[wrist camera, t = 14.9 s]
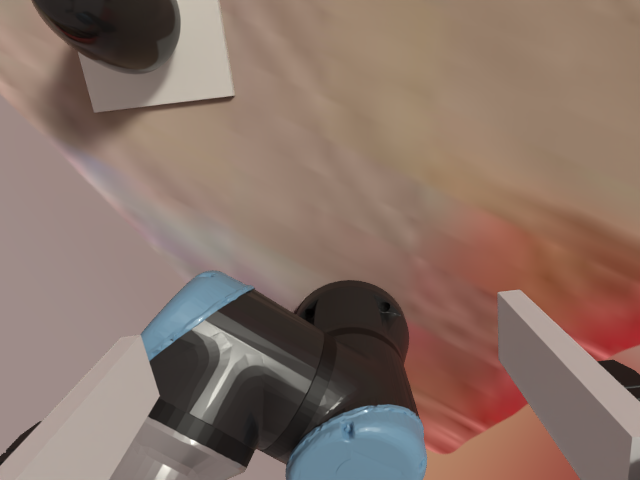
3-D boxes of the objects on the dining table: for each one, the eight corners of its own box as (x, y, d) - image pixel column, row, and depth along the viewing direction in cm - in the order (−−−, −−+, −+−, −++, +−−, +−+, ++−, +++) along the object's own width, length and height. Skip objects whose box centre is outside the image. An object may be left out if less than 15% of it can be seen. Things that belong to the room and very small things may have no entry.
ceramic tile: (235, 95, 45) (233, 95, 44) (97, 112, 46) (94, 112, 45) (207, -74, 40) (204, -78, 39) (54, -51, 41) (49, -54, 40)
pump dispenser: (128, -57, 40) (12, -152, 26) (212, 19, 42) (148, -29, 27) (77, 29, 43) (-55, -12, 28) (158, 97, 44) (74, 92, 30)
